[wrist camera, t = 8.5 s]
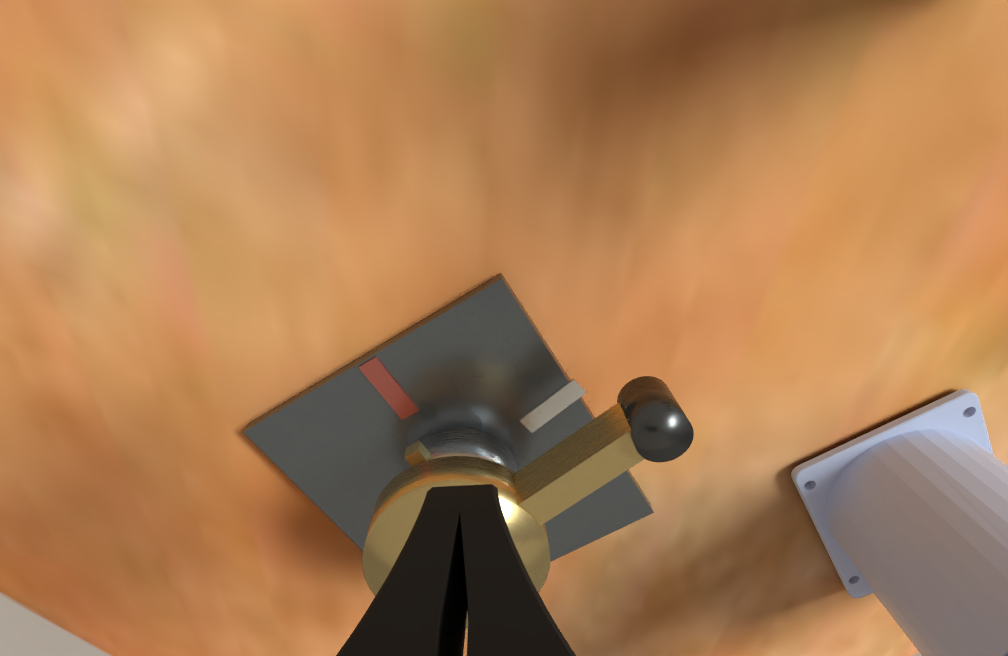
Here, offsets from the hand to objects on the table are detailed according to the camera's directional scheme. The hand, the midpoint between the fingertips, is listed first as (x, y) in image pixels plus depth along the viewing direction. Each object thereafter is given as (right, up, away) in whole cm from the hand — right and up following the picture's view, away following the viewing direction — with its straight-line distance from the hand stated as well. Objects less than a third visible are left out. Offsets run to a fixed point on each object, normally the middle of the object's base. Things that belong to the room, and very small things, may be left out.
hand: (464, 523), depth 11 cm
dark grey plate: (-1, -2, +12) cm, 12 cm away
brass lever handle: (+1, -1, +8) cm, 9 cm away
